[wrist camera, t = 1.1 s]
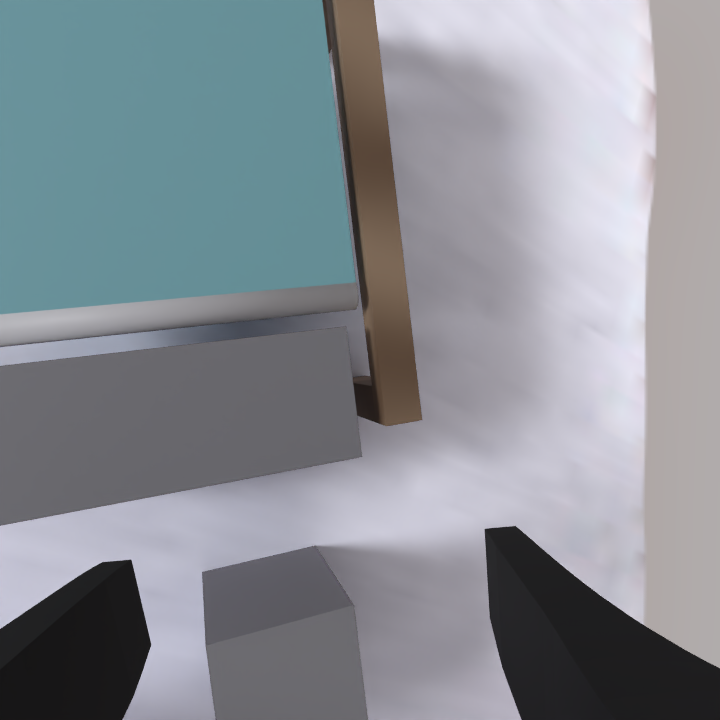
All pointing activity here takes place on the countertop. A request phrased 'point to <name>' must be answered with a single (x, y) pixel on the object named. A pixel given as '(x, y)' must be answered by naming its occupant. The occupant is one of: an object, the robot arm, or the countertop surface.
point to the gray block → (282, 641)
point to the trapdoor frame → (373, 215)
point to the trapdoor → (168, 247)
